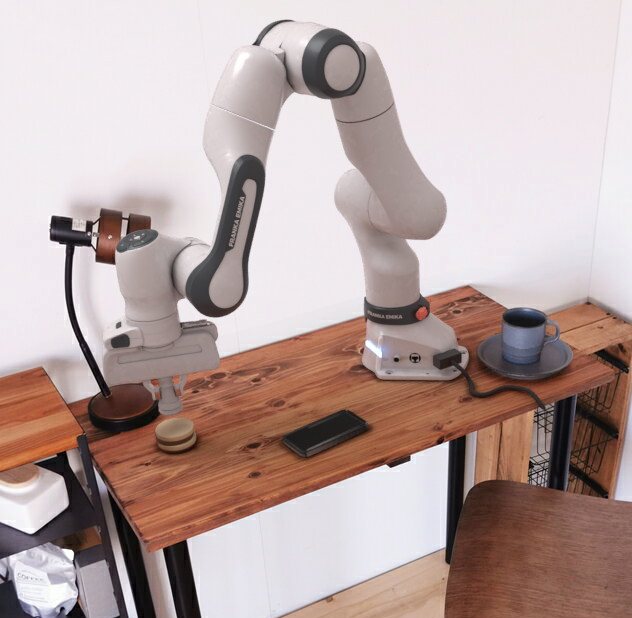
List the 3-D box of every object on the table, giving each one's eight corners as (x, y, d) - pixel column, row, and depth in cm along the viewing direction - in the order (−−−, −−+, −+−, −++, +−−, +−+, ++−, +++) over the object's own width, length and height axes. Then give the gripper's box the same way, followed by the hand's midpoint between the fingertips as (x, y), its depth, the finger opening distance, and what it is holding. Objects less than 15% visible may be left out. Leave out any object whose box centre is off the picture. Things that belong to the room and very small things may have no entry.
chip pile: (204, 435, 170) (202, 419, 169) (186, 457, 165) (183, 440, 163) (169, 430, 173) (165, 414, 171) (149, 452, 167) (145, 435, 165)
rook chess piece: (178, 417, 162) (170, 378, 158) (155, 416, 163) (146, 376, 159) (187, 404, 166) (180, 366, 162) (164, 403, 167) (156, 364, 163)
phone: (370, 423, 169) (303, 453, 161) (370, 429, 169) (303, 458, 162) (345, 407, 174) (279, 435, 167) (345, 412, 175) (280, 440, 167)
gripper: (213, 310, 160) (224, 379, 167) (95, 327, 156) (111, 396, 164) (217, 325, 155) (228, 395, 162) (94, 342, 151) (111, 414, 159)
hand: (168, 396), depth 163 cm, fingers closed on rook chess piece, 3 cm apart
